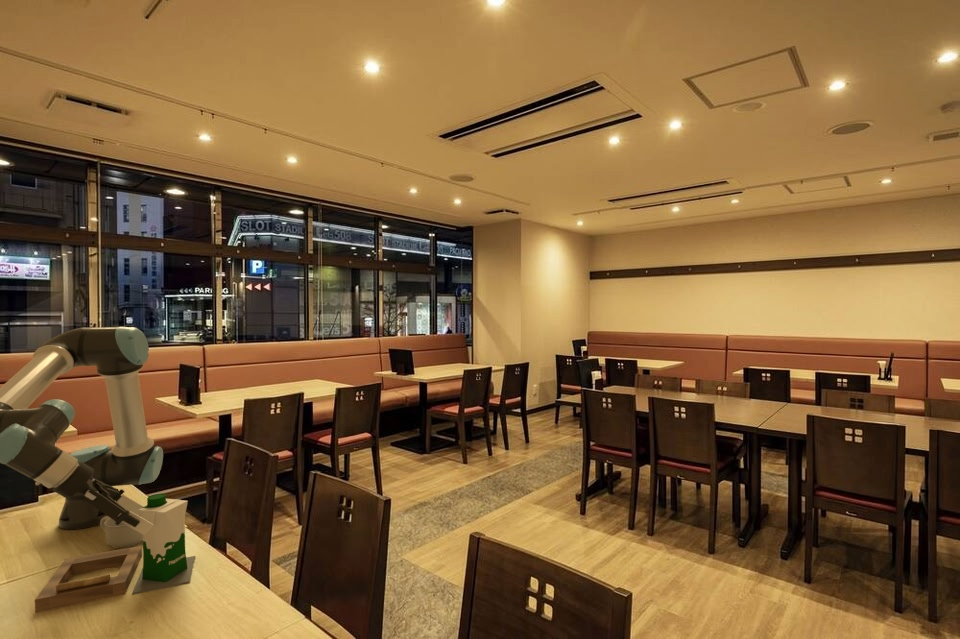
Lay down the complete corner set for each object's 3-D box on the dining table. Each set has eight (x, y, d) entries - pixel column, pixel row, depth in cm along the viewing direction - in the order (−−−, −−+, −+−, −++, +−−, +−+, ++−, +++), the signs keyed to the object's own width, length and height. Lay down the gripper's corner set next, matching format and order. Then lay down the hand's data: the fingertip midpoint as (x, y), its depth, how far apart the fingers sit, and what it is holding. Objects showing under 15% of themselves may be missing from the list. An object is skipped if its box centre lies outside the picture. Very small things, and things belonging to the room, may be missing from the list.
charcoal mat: (143, 566, 132) (143, 565, 132) (195, 557, 137) (195, 555, 137) (132, 594, 119) (132, 592, 119) (189, 582, 124) (189, 581, 124)
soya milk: (164, 563, 133) (162, 489, 133) (193, 566, 131) (191, 491, 131) (135, 581, 125) (133, 502, 124) (166, 584, 123) (164, 505, 122)
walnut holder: (65, 570, 131) (64, 553, 131) (142, 556, 138) (141, 539, 138) (35, 612, 113) (34, 592, 112) (125, 594, 120) (125, 575, 120)
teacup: (158, 538, 149) (157, 511, 149) (122, 555, 139) (121, 526, 138) (125, 531, 153) (124, 505, 153) (87, 547, 143) (87, 520, 143)
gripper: (50, 475, 122) (126, 518, 132) (51, 505, 103) (139, 553, 114) (77, 449, 125) (149, 493, 136) (83, 474, 107) (166, 523, 117)
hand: (145, 520), depth 125 cm, fingers open, 13 cm apart
